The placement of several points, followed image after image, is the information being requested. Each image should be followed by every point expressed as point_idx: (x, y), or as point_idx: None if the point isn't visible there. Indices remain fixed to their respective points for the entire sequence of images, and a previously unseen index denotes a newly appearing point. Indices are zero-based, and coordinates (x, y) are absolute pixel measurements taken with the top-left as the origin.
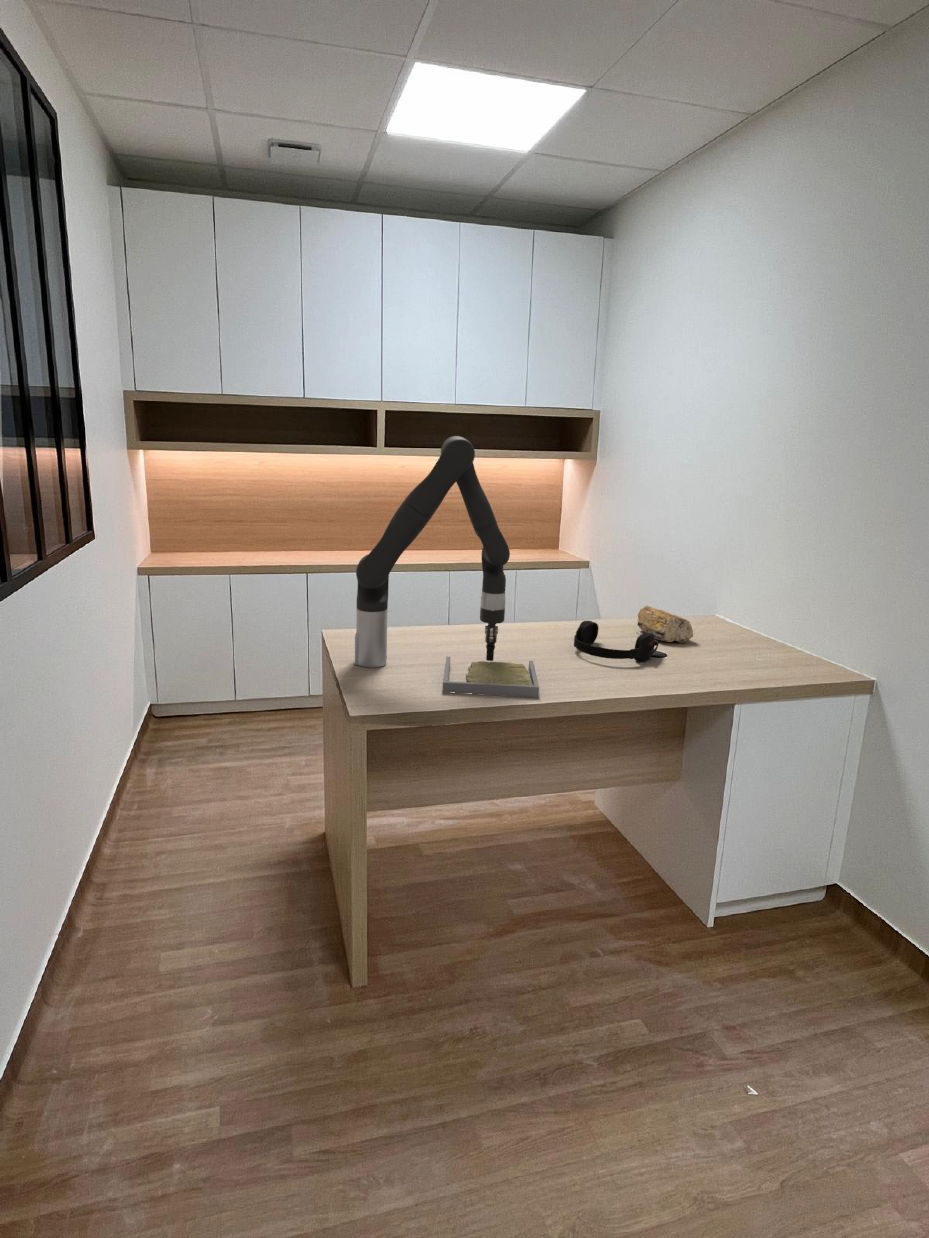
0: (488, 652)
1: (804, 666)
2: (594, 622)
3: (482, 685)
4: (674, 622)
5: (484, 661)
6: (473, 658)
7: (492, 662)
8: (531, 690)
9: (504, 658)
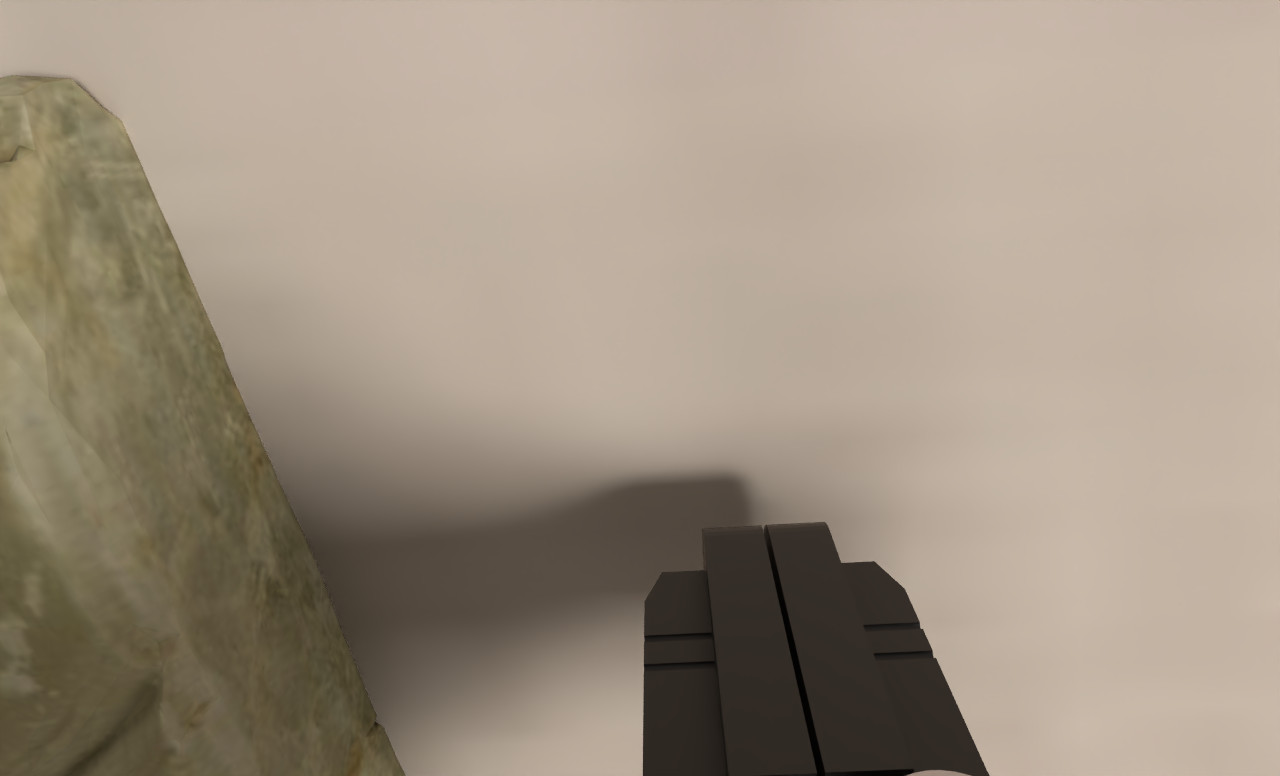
0: (646, 746)
1: None
2: None
3: None
4: None
5: (80, 597)
6: (1151, 117)
7: (138, 763)
8: None
9: (1145, 751)
